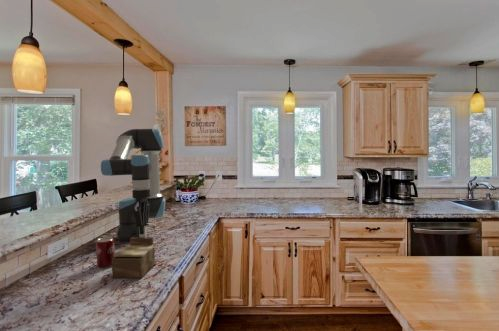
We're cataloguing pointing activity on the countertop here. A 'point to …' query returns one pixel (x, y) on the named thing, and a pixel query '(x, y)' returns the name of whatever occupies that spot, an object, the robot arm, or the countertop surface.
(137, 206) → the robot arm
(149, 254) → the box
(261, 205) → the countertop surface
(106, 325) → the countertop surface
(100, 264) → the soda can
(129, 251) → the lid
